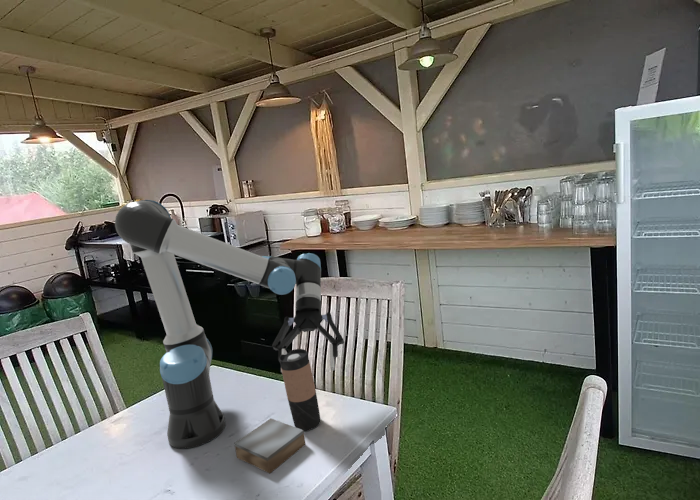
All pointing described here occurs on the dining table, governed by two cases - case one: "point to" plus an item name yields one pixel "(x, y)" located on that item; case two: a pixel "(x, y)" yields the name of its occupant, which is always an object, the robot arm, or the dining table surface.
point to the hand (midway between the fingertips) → (307, 371)
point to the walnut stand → (270, 445)
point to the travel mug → (300, 389)
